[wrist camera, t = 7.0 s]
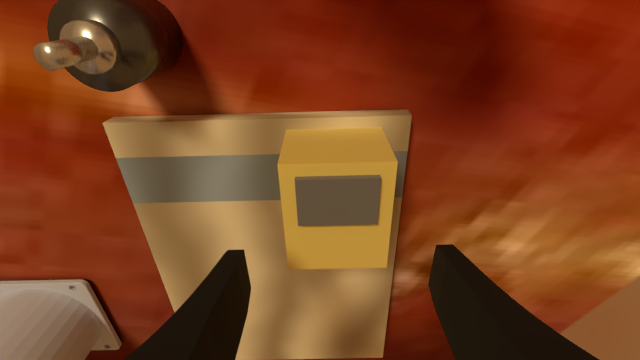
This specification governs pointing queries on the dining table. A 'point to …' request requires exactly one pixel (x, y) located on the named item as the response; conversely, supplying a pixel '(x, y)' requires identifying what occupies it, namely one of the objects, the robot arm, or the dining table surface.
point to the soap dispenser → (110, 41)
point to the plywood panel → (253, 225)
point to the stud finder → (337, 197)
